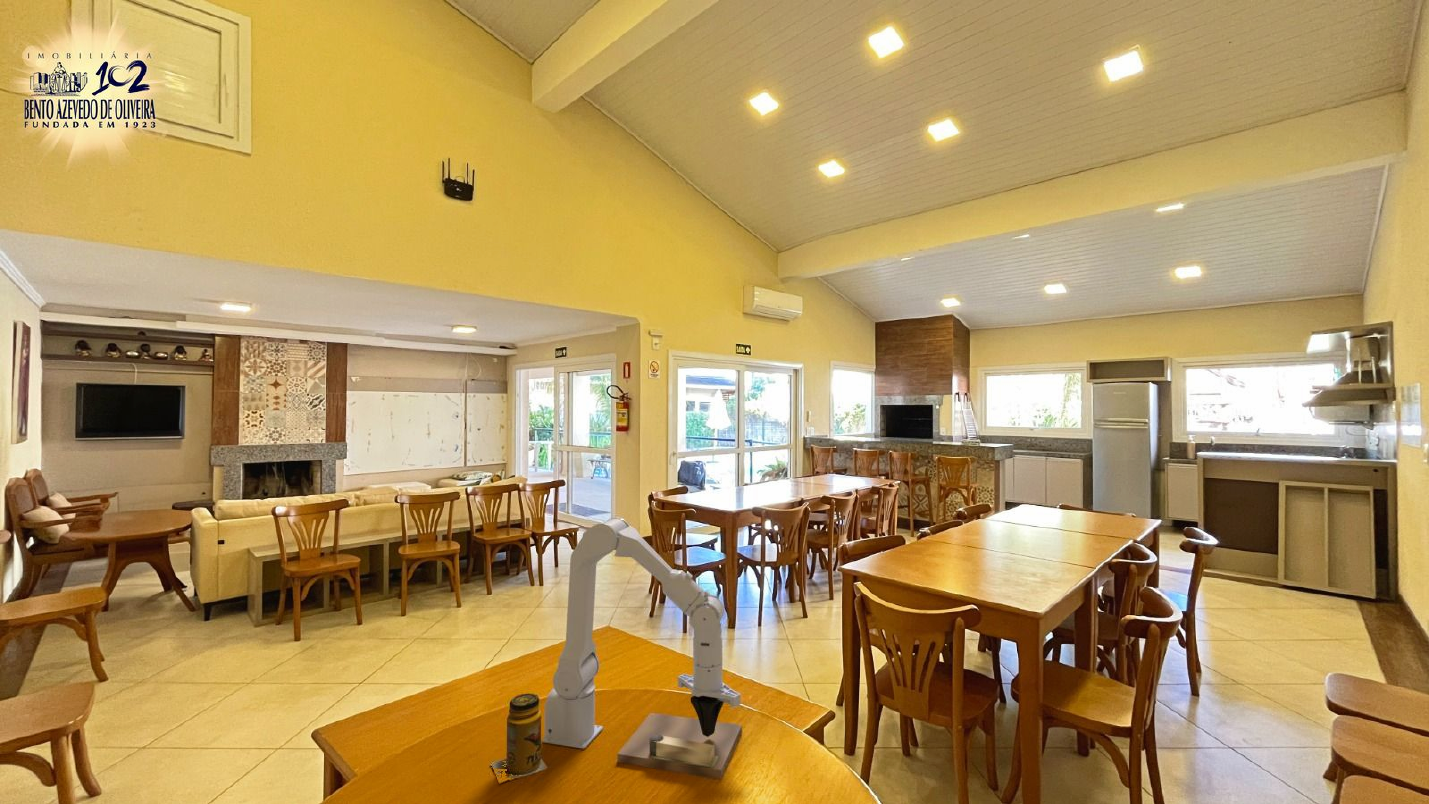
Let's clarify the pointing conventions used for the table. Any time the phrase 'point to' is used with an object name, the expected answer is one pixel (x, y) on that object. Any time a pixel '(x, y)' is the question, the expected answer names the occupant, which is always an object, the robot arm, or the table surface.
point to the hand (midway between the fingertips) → (708, 733)
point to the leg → (682, 750)
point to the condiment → (523, 738)
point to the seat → (684, 729)
